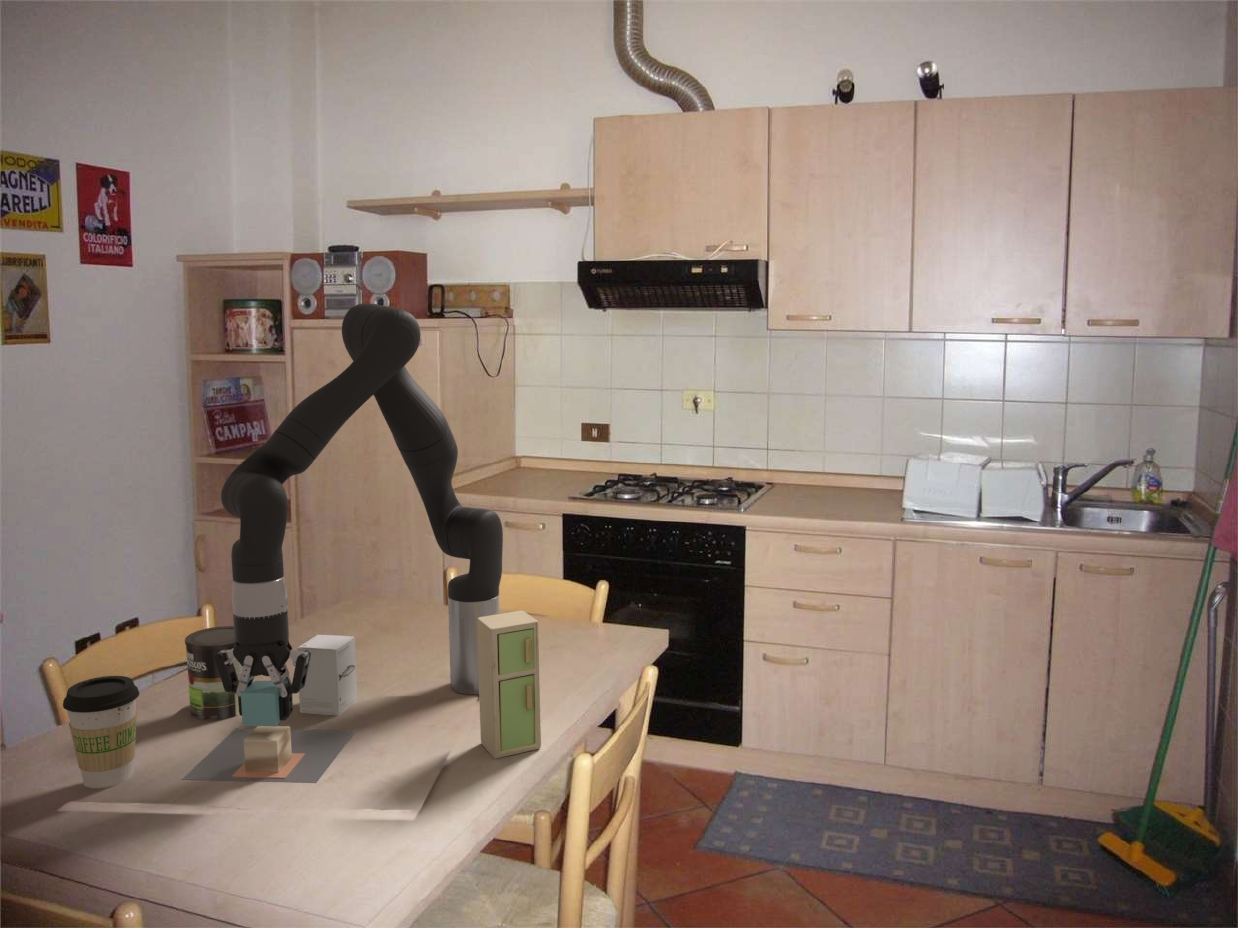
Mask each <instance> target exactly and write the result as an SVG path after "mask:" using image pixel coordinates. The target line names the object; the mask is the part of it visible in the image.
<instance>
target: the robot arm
mask: <svg viewBox="0 0 1238 928" xmlns="http://www.w3.org/2000/svg"><path fill="white" fill-rule="evenodd" d="M341 337H342V340H343V344H344V347H345V351H347V353H348V354H349V357H350V358H351V361H352V362H351V363H350V364H349V365H348V366H347V368H346V369H344V370H343V371H342V372H340V374H338V375H337V376H336V377H335V378H333V379H332V380H331V381H329V382H327V383H326V384H325V385H323V386H322V387H320V388H318V389H317V390H316V391H314V392H313V393H311V394H309V395H308V396H307V397H306V398H304V399H303V400H301V402H299V403H298V404H297V405H296V406H295V407H294V408H293V409H292V410H291V411H290V412H289V413H288V415H287V416H286V417H285V418H284V420H283V421H282V422H281V423H280V424H279V426H278V427H277V428H276V429H275V430H274V432H273V433H272V434H271V436H270V437H269V438H268V440H267V441H266V442H264V443H263V444H262V445H261V446H260V447H259V448H258V449H256V450H254V451H253V452H252V453H251V454H250V455H249V456H248V457H246V458H245V459H244V460H243V461H242V462H241V463H240V464H239V465H237V466H236V468H235V469H234V470H233V471H231V473H230V474H229V475H228V477H227V479H226V480H225V481H224V483H223V486H222V488H221V492H220V501H221V504H222V506H223V508H224V510H225V511H226V512H227V513H228V514H230V515H231V516H233V517H235V518H238V519H239V521H240V523H239V524H240V526H239V527H240V529H239V539H237V540H236V541H235V542H234V543H233V544H232V547H231V557H230V559H231V569H232V570H231V574H232V590H231V601H232V619H233V626H234V638H235V642H236V644H235V647H234V649H231V650H228V649H223V650H222V651H220V652H219V653H218V654H216V655H215V661H216V664H217V667H218V671H219V674H220V677H221V680H222V684H223V687H224V690H225V691H226V692H230V691H231V692H234V693H236V694H237V696H238V705H239V714H240V715H239V716H240V717H242V705H241V692H243V691H244V690H246V689H247V687H248V686H250V685H251V684H252V683H253V682H254V681H255V680H254V679H255V677H258V676H265V677H269V678H270V681H272V683H273V684H275V685H276V687H277V690H278V692H279V694H280V697H279V712H280V721H281V722H283V721H286V720H287V719H288V718H289V717H290V716H291V714H293V712H294V707H293V706H294V704H293V702H294V701H293V695H294V694H299V691H300V690H301V689H302V688H303V687H304V686H305V682H306V677H307V672H308V667H309V662H310V657H311V652H310V651H308V650H305V651H304V652H301V651H297V649H293V646H292V645H291V644H290V641H289V639H290V638H289V637H290V635H289V634H290V632H289V630H290V628H289V611H288V606H289V600H288V596H287V595H288V592H287V587H286V582H285V573H284V572H285V571H284V568H285V567H284V555H283V544H284V543H283V542H284V541H285V537H286V536H285V535H286V529H287V523H288V522H287V521H288V516H289V515H288V513H289V512H288V511H289V502H288V501H289V500H288V497H287V496H288V495H287V493H286V492H287V491H286V489H285V488H284V485H283V484H285V482H287V480H289V478H291V477H292V476H295V475H296V476H297V475H299V474H303V473H304V472H306V471H307V470H308V469H309V468H310V466H311V465H312V464H313V463H314V462H315V460H316V459H317V458H318V456H319V455H320V454H321V453H322V451H323V450H324V449H325V447H327V445H328V444H329V443H330V442H331V440H332V438H333V437H334V436H335V435H336V434H337V433H338V431H339V430H340V429H341V428H342V427H343V426H344V424H345V423H346V422H347V421H348V420H349V419H350V418H351V417H352V416H353V415H354V414H355V413H356V412H357V411H358V410H360V408H361V407H362V406H363V405H364V404H365V403H366V402H367V401H368V400H369V399H371V397H372V396H373V397H374V399H375V401H376V403H377V406H378V407H379V410H380V412H381V414H382V416H383V418H384V420H385V422H386V424H387V426H388V428H389V430H390V433H391V434H392V437H393V440H394V442H395V445H396V446H397V449H398V451H399V453H400V455H401V457H402V459H403V461H404V463H405V465H406V466H407V469H408V471H409V472H410V475H411V478H412V479H413V482H414V484H415V487H416V489H417V492H418V494H419V495H420V498H421V502H422V503H423V506H424V508H425V512H426V514H427V518H428V521H429V523H430V526H431V530H432V532H433V535H434V538H435V542H436V543H437V545H438V547H439V549H440V550H441V551H442V552H443V553H444V554H445V555H447V556H449V557H452V558H457V559H465V560H469V568H468V572H467V573H465V574H461V575H457V576H454V577H453V578H452V579H450V580H449V581H448V584H447V599H448V600H447V602H448V603H447V605H448V609H447V610H448V638H449V665H450V667H449V668H450V669H449V671H450V672H449V673H450V675H449V676H450V677H449V679H450V687H451V689H452V691H454V692H456V693H460V694H465V695H479V672H478V645H477V618H479V617H484V616H490V615H496V614H500V585H501V580H502V573H503V551H504V550H503V549H504V547H503V546H504V545H503V543H504V532H503V531H504V530H503V525H502V524H503V523H502V520H501V518H500V517H499V515H498V514H497V513H496V512H495V510H489V509H484V508H483V509H482V508H474V507H473V508H472V507H465V506H463V505H462V504H461V503H460V502H459V500H458V498H457V495H456V494H455V491H454V488H453V485H452V483H453V477H454V474H455V470H456V466H457V462H458V457H459V456H458V454H459V452H458V447H457V446H458V445H457V441H456V439H455V437H454V434H453V432H452V430H451V427H450V426H449V425H450V424H449V423H448V421H447V419H446V416H445V414H444V413H443V412H442V410H441V409H440V408H439V406H438V405H437V404H436V402H435V401H434V400H433V399H432V398H431V396H429V395H428V394H427V393H426V391H425V390H424V389H423V388H422V387H421V385H419V383H417V381H416V380H415V379H414V378H413V376H412V375H411V373H409V371H408V369H407V367H406V365H407V364H408V363H409V362H410V361H411V360H412V358H414V356H415V354H416V353H417V351H418V349H419V346H420V342H421V328H420V325H419V322H418V321H417V319H416V318H415V316H414V315H413V314H412V313H410V312H408V311H406V310H403V309H401V308H397V307H392V306H388V305H387V306H386V305H381V304H375V303H359V304H356V305H353V306H352V307H350V308H349V309H348V310H347V311H346V313H345V315H344V318H343V320H342V322H341ZM234 657H235V658H236V659H237V661H238V662H239V663H240V664H241V666H242V667H243V668H242V671H241V675H240V678H239V680H238V677H237V674H236V670H235V667H234V664H233V662H234V661H235V658H234ZM289 659H291V661H292V665H293V666H294V673H293V677H292V680H291V678H290V671H289V668H288V666H287V662H288V661H289Z"/></svg>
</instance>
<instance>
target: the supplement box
mask: <svg viewBox="0 0 1238 928" xmlns="http://www.w3.org/2000/svg"><path fill="white" fill-rule="evenodd" d="M355 642H356V640H355V636H352V635H351V636H349V635H333V634H332V635H329V634H316V635H315V636H313V637H312V638H310V639H308V640H307V641H306V642H304V643H303V644H300V646H298V647H296V650H297V651H301V652H304V651H305V650H308V651H310V652H311V657H310V662H309V667H308V672H307V677H306V682H305V686H304V687H303V688H302V689H301V690H300V691H299V692H298V695H299V696H298V697H299V698H298V699H299V713H300V714H311V715H323V716H340V715H341V714H343V712H345V711H346V710H348V708H349V707H350V706H352V705H353V704H354V703H355V702H357V700H358V690H357V689H358V688H357V687H358V686H357V683H358V682H357V663H356V660H357V659H356V643H355Z"/></svg>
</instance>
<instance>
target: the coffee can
mask: <svg viewBox="0 0 1238 928" xmlns="http://www.w3.org/2000/svg"><path fill="white" fill-rule="evenodd" d="M184 644H185V650H186V651H185V652H186V663H187V664H186V665H187V680H188V681H187V682H188V695H189V711H190V712H189V713H190V716H191V717H192V718H194V719H197V720H200V721H220V720H221V721H222V720H228V719H231V718H236V717H238V716H240V714H239V705H238V696H237V694H236V693H234V692H231V691H230V692H226V691H225V690H224V687H223V684H222V680H221V677H220V674H219V671H218V667H217V664H216V661H215V655H216V654H218V653H219V652H220V651H222V650H223V649H228V650H231V649H234V647H235V644H236V642H235V638H234V625H233V626H232V625H231V626H230V625H229V626H228V625H226V626H225V625H224V626H213V627H207V628H203V629H199V630H196V631H194V632H191V633H190V634H188V635H187V636H186V637H184ZM234 658H235V657H234ZM233 664H234V667H235V670H236V674H237V677H238V680H239V678H240V675H241V671H242V668H243V667H242V666H241V664H240V663H239V662H238V661H237V659H236V658H235V661H234V662H233Z"/></svg>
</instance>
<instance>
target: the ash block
mask: <svg viewBox="0 0 1238 928" xmlns="http://www.w3.org/2000/svg"><path fill="white" fill-rule="evenodd" d="M253 729H254V730H253V731H252V732H251V733H250V734H249V735H248V736H247V737H246V738H245V739H244V754H245V769H246V772H275V773H279V772H280V771H281V769H282V768H283V767H284V766H285V765H286V764H287V763H288V761H289V760H290V759H291V758H292V749H291V732H290V729H291V726H287V725H285V726H284V725H283V726H282V725H277V726H255V728H253Z"/></svg>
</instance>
